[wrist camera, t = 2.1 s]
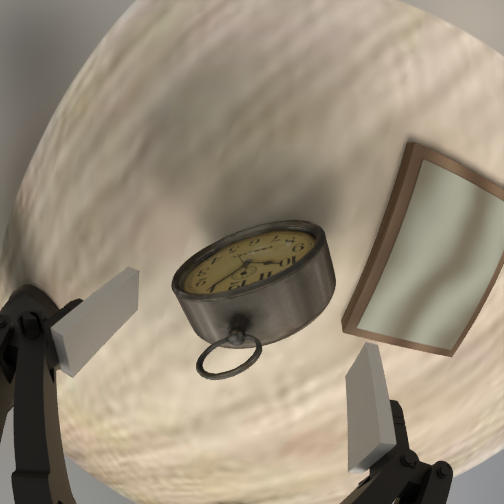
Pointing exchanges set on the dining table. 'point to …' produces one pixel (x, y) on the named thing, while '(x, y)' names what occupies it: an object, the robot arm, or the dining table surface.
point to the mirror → (430, 257)
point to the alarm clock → (256, 287)
